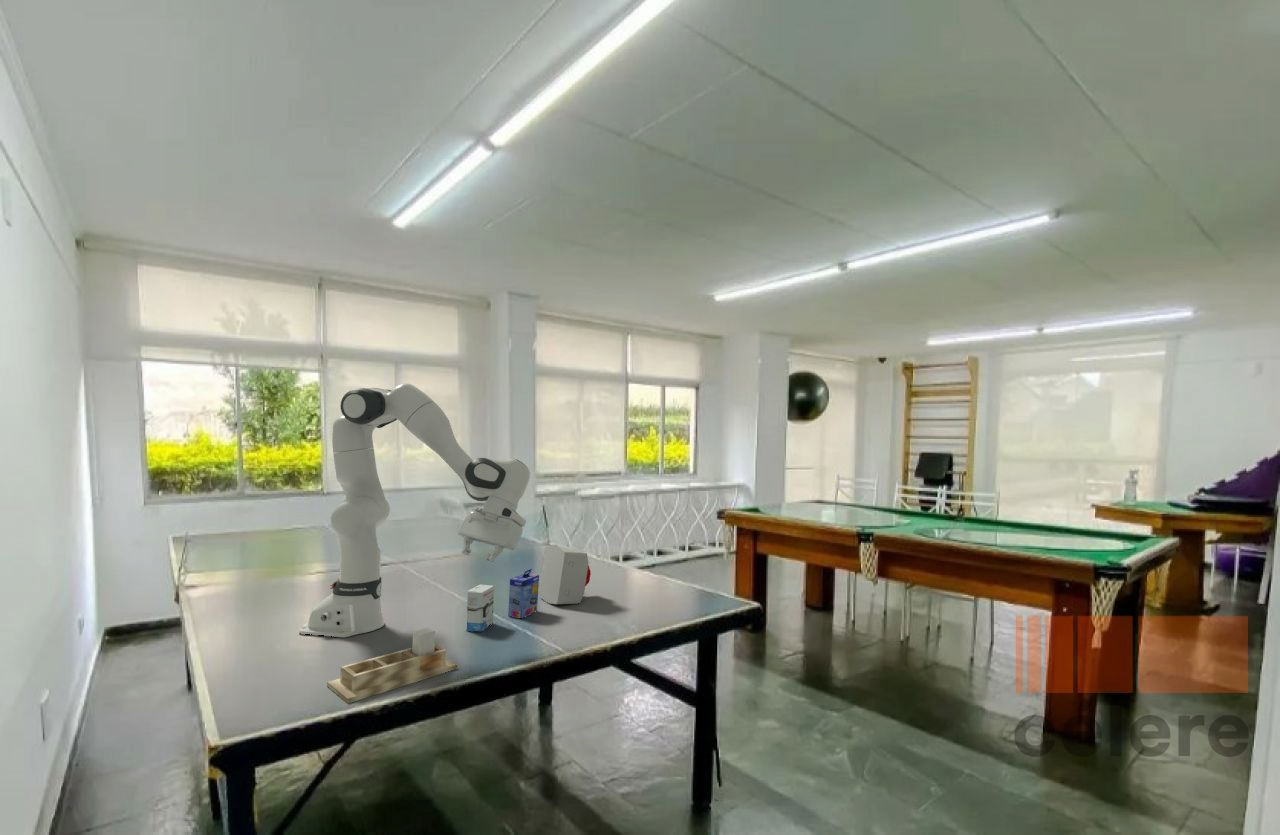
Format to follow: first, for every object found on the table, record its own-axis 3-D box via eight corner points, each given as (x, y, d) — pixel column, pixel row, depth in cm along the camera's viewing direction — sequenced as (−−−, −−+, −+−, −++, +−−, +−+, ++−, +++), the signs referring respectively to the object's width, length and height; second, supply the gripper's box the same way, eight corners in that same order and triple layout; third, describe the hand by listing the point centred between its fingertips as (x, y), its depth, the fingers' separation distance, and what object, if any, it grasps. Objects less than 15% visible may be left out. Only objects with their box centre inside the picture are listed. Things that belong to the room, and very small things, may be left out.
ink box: (481, 632, 169) (482, 592, 170) (465, 631, 170) (466, 591, 171) (494, 623, 178) (495, 585, 178) (479, 622, 179) (480, 584, 179)
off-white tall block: (411, 664, 142) (412, 631, 143) (427, 659, 145) (428, 627, 146) (418, 668, 140) (419, 634, 140) (434, 663, 143) (435, 630, 143)
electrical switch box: (593, 607, 203) (602, 550, 205) (556, 608, 194) (565, 548, 197) (573, 598, 215) (581, 543, 217) (537, 597, 206) (546, 541, 209)
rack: (347, 703, 124) (348, 682, 124) (326, 686, 132) (327, 666, 132) (457, 668, 143) (457, 650, 143) (433, 655, 151) (433, 638, 151)
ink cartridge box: (522, 619, 182) (523, 573, 182) (507, 617, 184) (508, 571, 184) (538, 611, 191) (539, 567, 191) (524, 608, 193) (525, 565, 194)
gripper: (465, 502, 170) (443, 546, 164) (519, 513, 160) (497, 561, 154) (478, 511, 174) (457, 554, 168) (530, 522, 164) (510, 569, 158)
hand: (477, 557), depth 161 cm, fingers open, 8 cm apart
